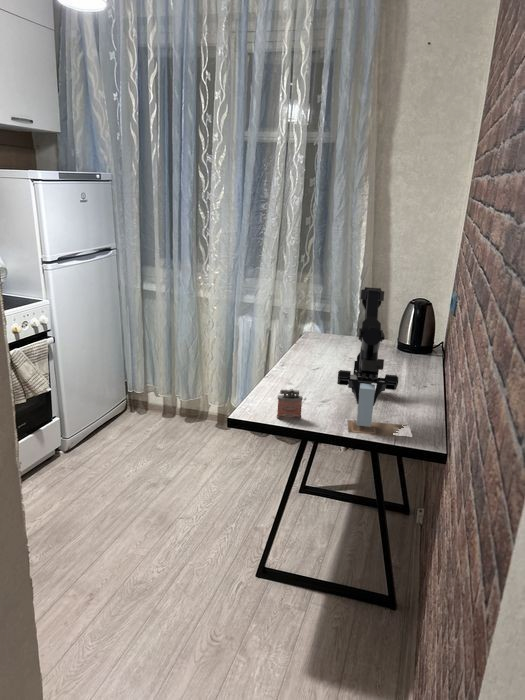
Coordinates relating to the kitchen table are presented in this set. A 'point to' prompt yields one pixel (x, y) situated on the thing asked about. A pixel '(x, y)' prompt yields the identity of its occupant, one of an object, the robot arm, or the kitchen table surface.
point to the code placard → (374, 428)
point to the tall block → (365, 404)
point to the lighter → (289, 405)
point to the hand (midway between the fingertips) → (365, 404)
